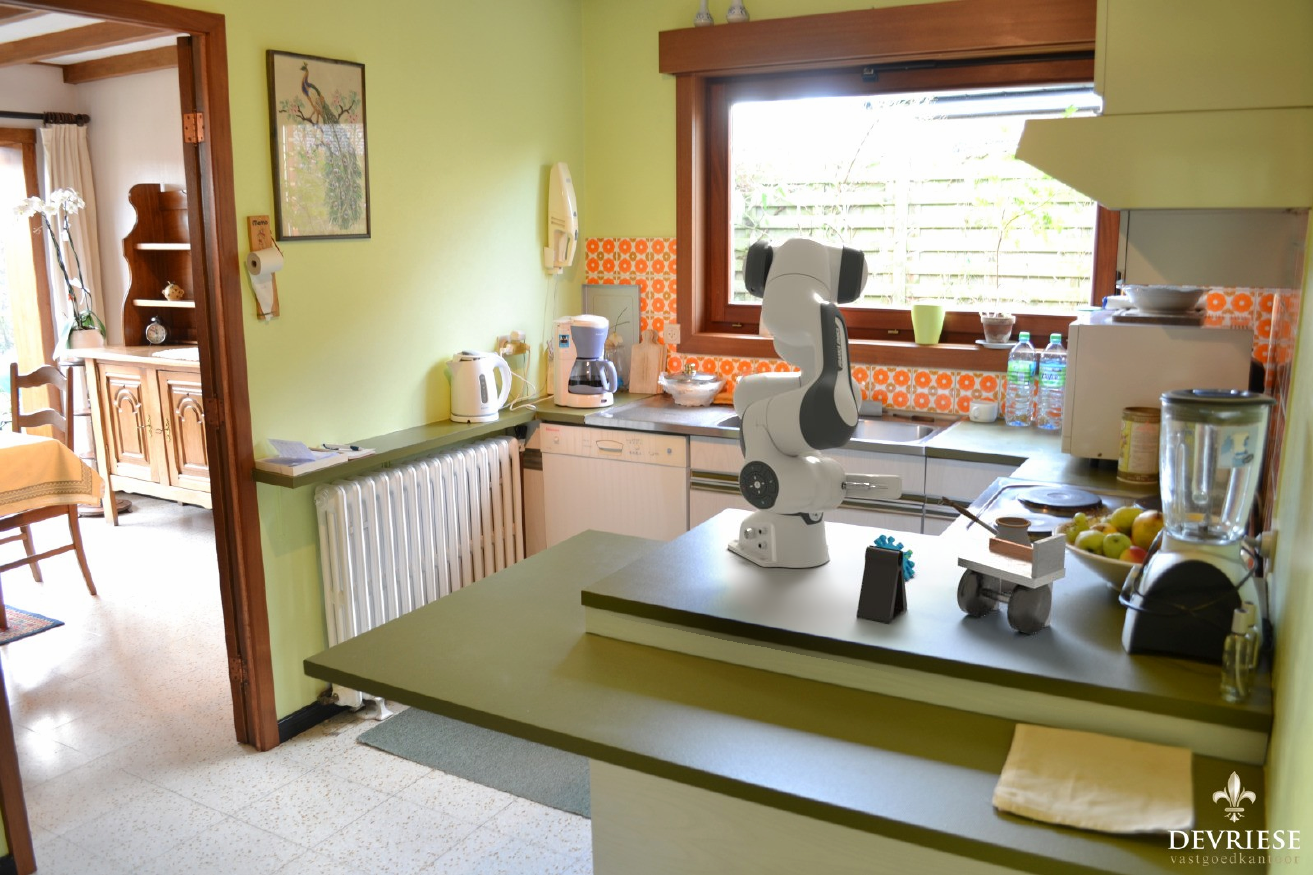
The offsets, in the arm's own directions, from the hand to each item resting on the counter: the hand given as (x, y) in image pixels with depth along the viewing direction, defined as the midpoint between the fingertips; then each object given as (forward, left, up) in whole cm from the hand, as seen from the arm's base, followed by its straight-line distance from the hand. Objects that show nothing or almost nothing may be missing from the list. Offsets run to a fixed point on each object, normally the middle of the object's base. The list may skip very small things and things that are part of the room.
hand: (863, 484), depth 169 cm
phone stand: (-2, +9, -26) cm, 27 cm away
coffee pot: (-1, +37, -26) cm, 45 cm away
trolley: (+14, +23, -25) cm, 37 cm away
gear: (-14, +27, -26) cm, 40 cm away
